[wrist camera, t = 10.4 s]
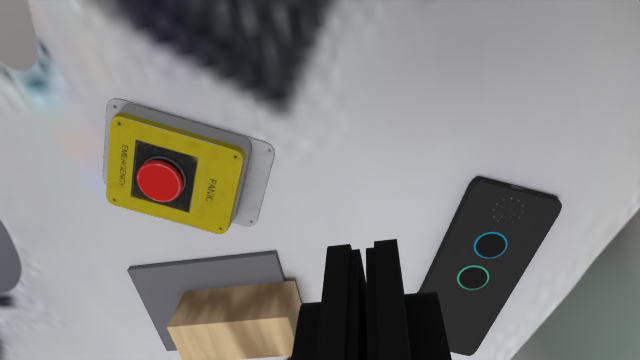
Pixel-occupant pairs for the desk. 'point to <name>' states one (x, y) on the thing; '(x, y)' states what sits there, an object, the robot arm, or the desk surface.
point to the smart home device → (486, 256)
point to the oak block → (236, 322)
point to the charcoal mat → (198, 282)
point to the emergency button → (183, 168)
